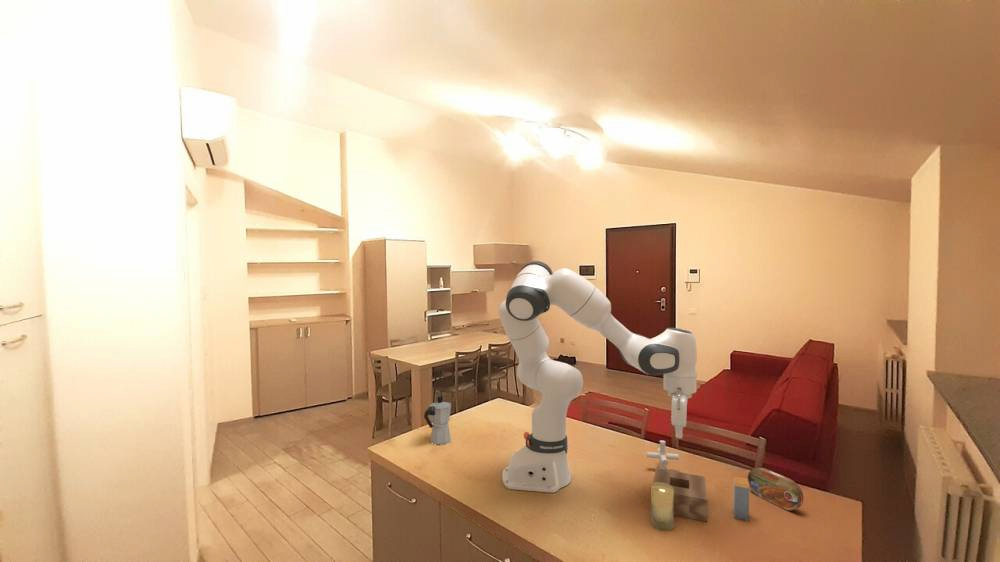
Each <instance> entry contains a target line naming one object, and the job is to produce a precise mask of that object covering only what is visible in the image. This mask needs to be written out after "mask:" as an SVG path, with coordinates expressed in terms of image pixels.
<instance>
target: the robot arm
mask: <svg viewBox="0 0 1000 562" xmlns="http://www.w3.org/2000/svg"><path fill="white" fill-rule="evenodd" d="M551 306H556V307H559V309H561V310H563V311H564V312H565V313H566V314H567V315H568V316H569V317H571V318H572V319H573V320H574V321H576V322H577V323H579V324H581V325H582V326H584V327H586V328H588V329H590V330H591V329H592V330H595V331H597V332H598V333H600V334H601V336H603V337H604V338H606V339H607V340H608V341H609V342H610V343H612V344H613V345H614V346H615V347H616V349H617V350H618V352H619V355H620V356H621V358H622V360H623V361H624V362H625V363H626V364H627V365H629V366H630V367H633V368H635V369H637V370H639V371H640V372H642V373H644V374H646V375H649V376H659V375H663V390H664V391H666V392H667V395H668V396H669V397H671V415H670V416H671V418H670V419H671V425H672V426H674V431H675V438H676V439H683V430H684V428H686V426H687V410H688V409H687V407H688V406H687V405H688V400H689V399H691V398H692V396H693V395H694V394H695V393H697V372H696V371H697V370H696V364H697V352H698V351H697V341H696V337H695V335H694V333H692V332H691V331H689V330H685V329H682V328H677V327H667V328H666V329H665V330H664V331H663V332H662V333H660V334H659V335H657V336H655V337H652V338H649V337H647V336H645V335H642V334H639V333H634V332H632V331H630V330H629V329H628V328H626V326H624V324H622V323H621V322H620V321H619V320H618V319H616V318H615V317H614V316H613V314H612V313H611V312H612V303H611V301H610V300H609V299H608V297H607V296H606V295H605V294H604V293H603V291H601V290H600V289H599V288H598V287H597V286H595V285H594V284H593V283H592V282H591V281H589V280H588V279H587V278H585V277H583V276H582V275H581V274H579V273H577V272H575V271H573V270H572V269H570V268H566V267H564V268H563V267H562V268H559V269H557V270H556V271H554V272H553V271H552V269H551V267H550V266H549V265H548V264H546V263H545V262H543V261H540V260H532V261H530V262H528V263H526V264H525V265H524V266H523V267H522V268H521V269H520V271H519V272H518V274H517V275H516V276H515V278H514V279H513V282H512V284H511V287H510V289H509V291H508V292H507V294H506V299H504V300H503V301H502V302H501V304H500V305H499V307H498V316H499V320H500V323H501V325H502V328H503V330H504V333H505V334H506V336H507V339H508V340H509V342H510V344H511V346H512V348H513V349H514V351H515V353H516V355H517V358H518V362H519V363H518V365H517V367H516V368H517V369H516V376H517V379H518V380H519V381H520V383H522V384H523V385H524V386H525V387H527V388H528V389H532V390H534V391H537V392H540V393H541V401H540V404H538V405H537V406H535V407H534V408H533V410H532V412H531V433H530V432H528V431H526V432H525V431H524V433H523V439H524V440H525V445H524V446H522V447H521V448H520V449H519V450H517V451H515V452H514V453H512V455H511V457H510V461H509V465H508V466H505V468H503V470H502V475H501V480H502V484H503V486H505V488H506V489H508V490H518V491H519V490H520V491H529V492H540V493H557V492H558V491H559V490H560V489H561V488H564V487H566V486H568V485H569V484H570V483H571V482H572V477H571V473H570V469H569V463H568V455H567V454H568V449H569V448H568V446H569V445H568V444H569V442H568V436H567V413H568V408H569V406H570V404H571V402H572V401H573V400H574V399H575V398H577V397H578V395H580V393H581V391H582V389H583V385H584V377H583V374H582V373H581V371H580V370H579V368H578V369H577V368H576V367H574V366H573V365H571V364H570V363H569V364H568V363H566V362H562V361H558V360H554V359H552V358H550V356H548V354H547V350H548V348H549V347H550V339H549V337H548V335H547V333H546V332H545V330H544V327H543V325H542V323H541V321H540V320H539V318H538V316H541V315H542V314H544V313H547V312H548V311H550V309H551V308H550V307H551Z"/></svg>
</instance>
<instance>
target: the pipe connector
mask: <svg viewBox="0 0 1000 562" xmlns="http://www.w3.org/2000/svg"><path fill="white" fill-rule="evenodd" d="M646 458H648V459H659V469H664V470H666V466H668V465H669V461H668V460H674V461H675V460H676V461H678V460H680V457H679V454H678V453H670V452H668V453H667V452H666V441H665V440H659V447H658V448H657V452H654V451H653V452H651V451H646Z"/></svg>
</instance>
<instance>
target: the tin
mask: <svg viewBox="0 0 1000 562" xmlns="http://www.w3.org/2000/svg"><path fill="white" fill-rule="evenodd" d="M747 479H748V481H749V489H751V491H752V492H753V493H754V494H755V496H757V497H759V498H760V499H762V500H765V501H766V502H769V503H771V504H773V505H775V506H777V507H779V508H781V509H783V510H786V511H795V510H796V509H799V508H800V507H802V506H803V504H804V493H803V491H802V488H801V487H800V486H799V484H798V483H797V482H795V481H794V480H793V479H791V478H789V477H786V476H784V475H781V474H779V473H777V472H774V471H772V470H770V469H767V468H765V467H758V468H753V469H750V471H749V472H748V473H747Z"/></svg>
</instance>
